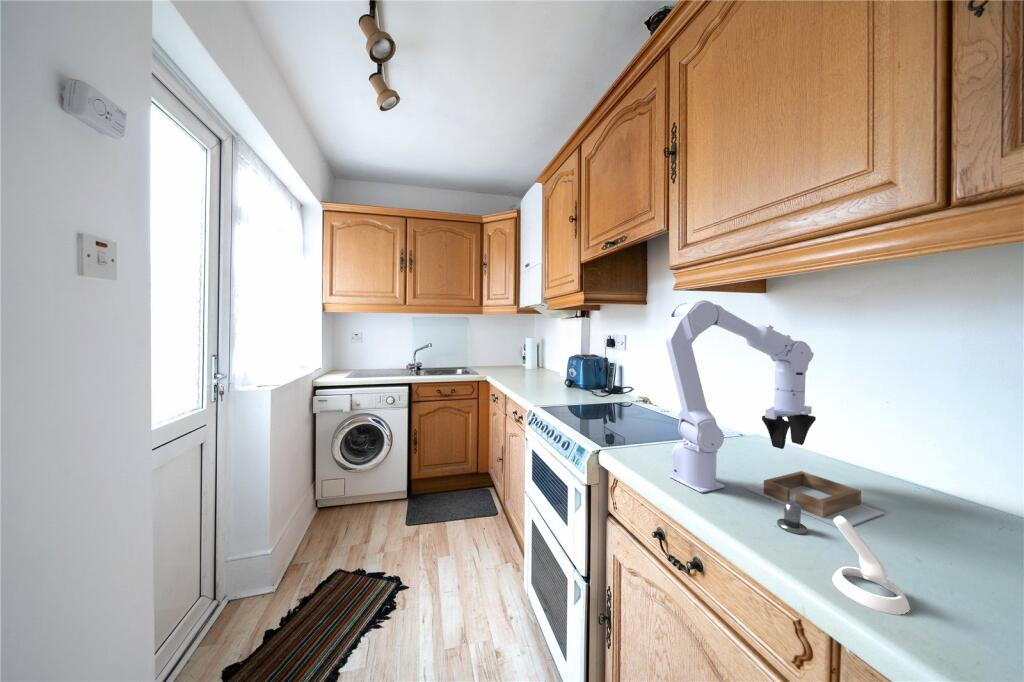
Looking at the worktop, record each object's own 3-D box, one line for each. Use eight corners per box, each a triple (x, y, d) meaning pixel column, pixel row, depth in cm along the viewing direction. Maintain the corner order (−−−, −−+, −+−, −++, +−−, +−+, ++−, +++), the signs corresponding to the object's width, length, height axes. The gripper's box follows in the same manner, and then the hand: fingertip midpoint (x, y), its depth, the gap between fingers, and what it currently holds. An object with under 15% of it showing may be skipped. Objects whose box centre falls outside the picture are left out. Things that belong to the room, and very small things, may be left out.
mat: (745, 488, 81) (745, 487, 81) (785, 478, 86) (785, 477, 86) (842, 529, 64) (842, 528, 64) (884, 514, 70) (884, 512, 70)
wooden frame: (763, 493, 78) (763, 480, 78) (801, 483, 83) (801, 471, 83) (822, 517, 68) (822, 502, 68) (860, 504, 73) (861, 490, 73)
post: (771, 523, 66) (772, 500, 66) (786, 519, 68) (786, 496, 67) (798, 536, 62) (799, 512, 62) (812, 531, 64) (813, 507, 63)
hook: (786, 525, 56) (829, 506, 55) (845, 605, 52) (893, 586, 50) (805, 541, 49) (854, 520, 48) (875, 634, 45) (931, 614, 44)
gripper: (789, 394, 76) (787, 455, 77) (827, 390, 82) (825, 447, 82) (756, 389, 83) (755, 445, 83) (793, 386, 88) (792, 438, 89)
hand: (787, 445), depth 83 cm, fingers open, 7 cm apart
